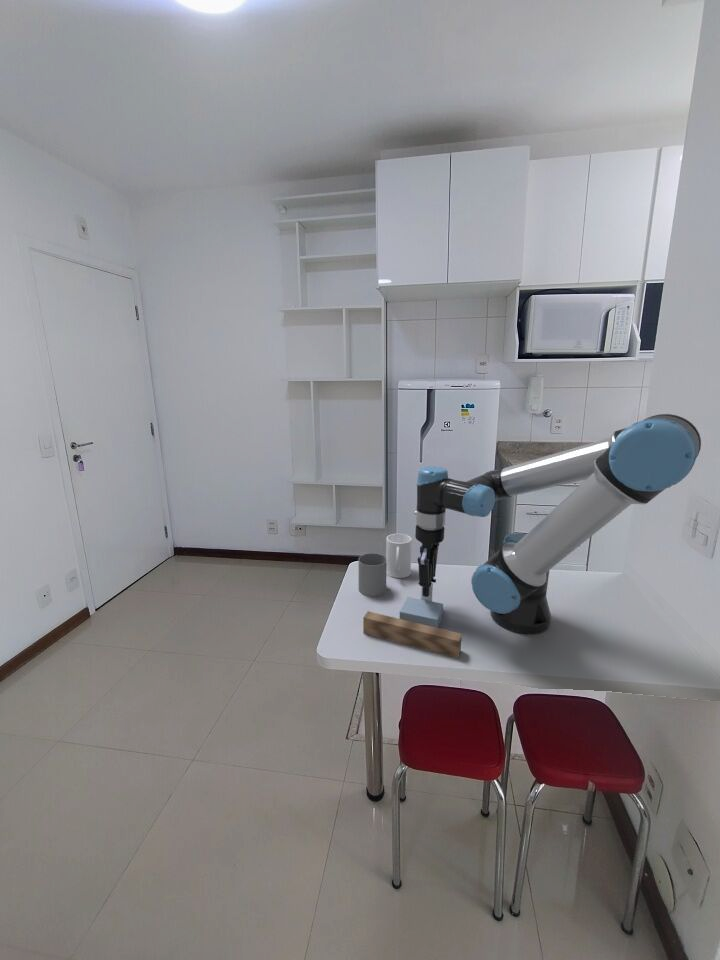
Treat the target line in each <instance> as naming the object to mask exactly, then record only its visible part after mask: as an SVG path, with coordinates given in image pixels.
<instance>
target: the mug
mask: <svg viewBox="0 0 720 960" xmlns="http://www.w3.org/2000/svg"><path fill="white" fill-rule="evenodd" d="M385 539H386V544H385V545H386V547H385V550H386V551H385V552H386V553H385V554H386V555H385V557H386V560H387V567H386V576H388V577H391V578H395V579H404V578H408V577H409V576H411V574H412V569H411V568H412V542H413V541H412V537H411V536H409V534H405V533H391V534H389V535H387V536H386V538H385Z"/></svg>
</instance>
